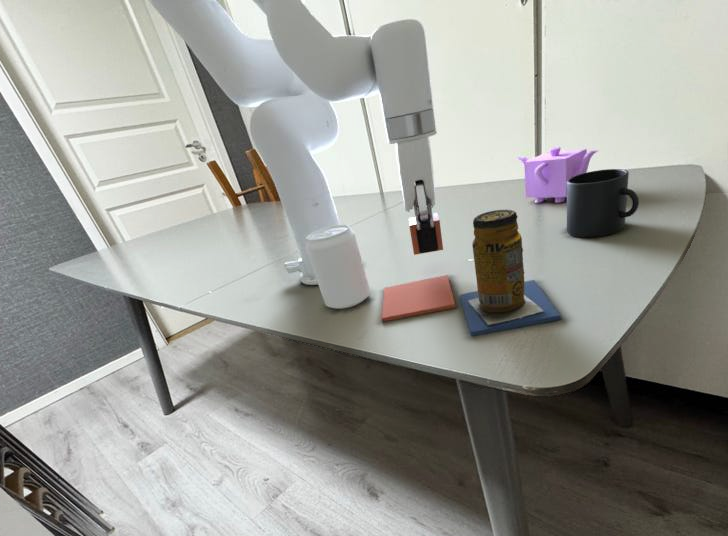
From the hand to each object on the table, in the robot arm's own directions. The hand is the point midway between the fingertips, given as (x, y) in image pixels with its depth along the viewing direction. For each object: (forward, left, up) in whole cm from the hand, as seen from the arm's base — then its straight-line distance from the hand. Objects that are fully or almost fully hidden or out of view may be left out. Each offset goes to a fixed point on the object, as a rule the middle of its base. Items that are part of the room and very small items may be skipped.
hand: (427, 244), depth 70 cm
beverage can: (-15, -5, -5) cm, 17 cm away
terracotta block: (0, 0, -1) cm, 1 cm away
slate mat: (+9, -19, -5) cm, 22 cm away
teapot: (+32, +33, -5) cm, 46 cm away
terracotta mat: (-3, -10, -5) cm, 12 cm away
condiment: (+8, -20, -5) cm, 22 cm away
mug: (+31, +4, -5) cm, 31 cm away
